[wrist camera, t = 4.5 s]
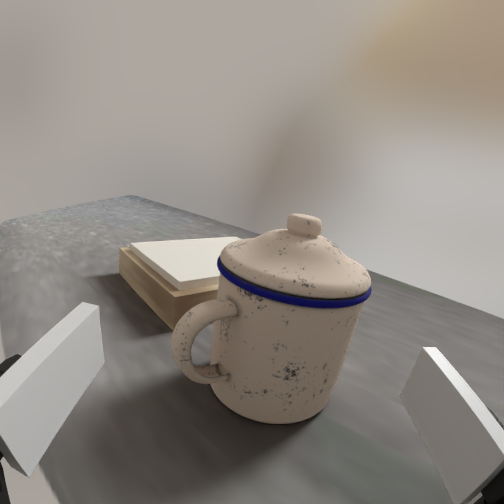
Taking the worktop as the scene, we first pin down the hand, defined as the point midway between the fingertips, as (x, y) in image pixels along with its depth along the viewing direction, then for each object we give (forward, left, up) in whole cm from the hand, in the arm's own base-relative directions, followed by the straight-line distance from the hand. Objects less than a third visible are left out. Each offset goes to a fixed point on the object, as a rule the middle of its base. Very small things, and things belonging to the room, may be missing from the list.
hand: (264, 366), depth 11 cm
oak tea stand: (-13, -20, -7) cm, 25 cm away
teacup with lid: (-5, -4, -7) cm, 10 cm away
